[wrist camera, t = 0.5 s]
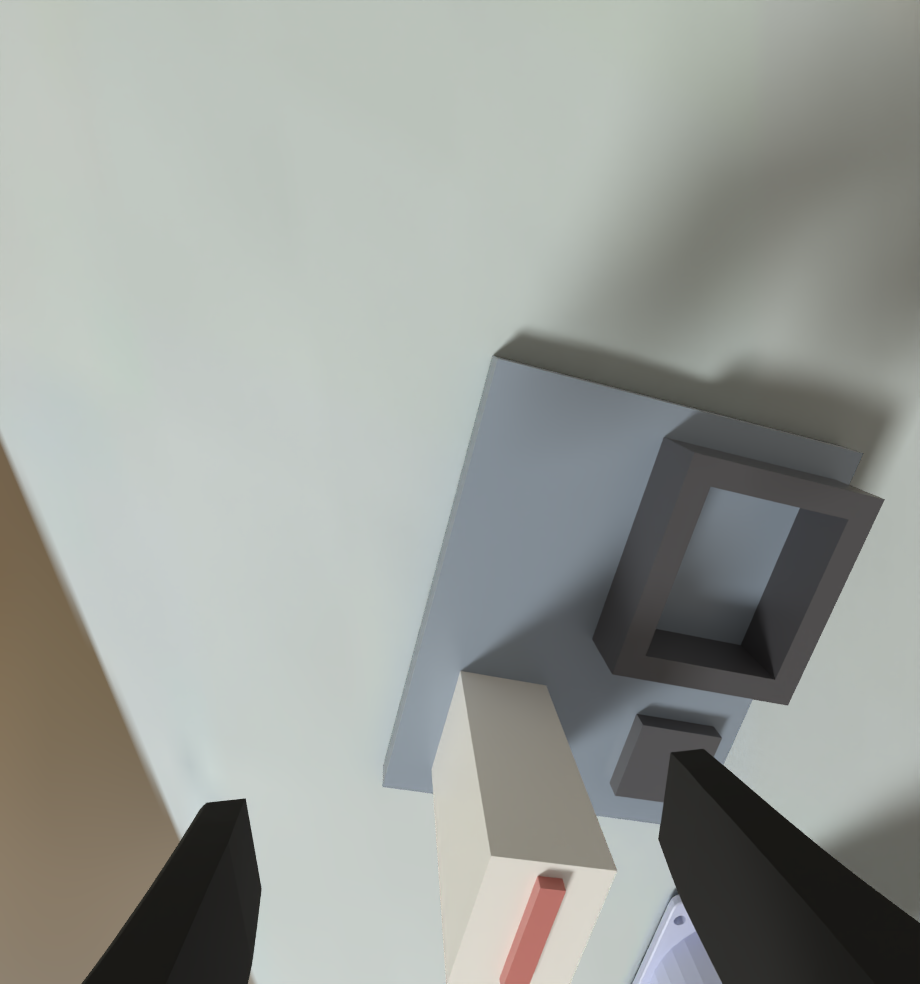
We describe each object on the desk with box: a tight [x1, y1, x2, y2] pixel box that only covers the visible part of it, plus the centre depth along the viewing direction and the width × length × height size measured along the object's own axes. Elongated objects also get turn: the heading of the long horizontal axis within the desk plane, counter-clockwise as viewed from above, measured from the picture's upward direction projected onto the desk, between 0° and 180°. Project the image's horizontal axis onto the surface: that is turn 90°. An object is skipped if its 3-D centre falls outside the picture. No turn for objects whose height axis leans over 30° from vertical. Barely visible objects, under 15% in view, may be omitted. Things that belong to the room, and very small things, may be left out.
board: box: [383, 356, 863, 824], centre depth 20 cm, size 15×12×2 cm
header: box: [592, 437, 885, 705], centre depth 19 cm, size 7×6×2 cm
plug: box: [431, 671, 617, 984], centre depth 17 cm, size 4×3×7 cm
